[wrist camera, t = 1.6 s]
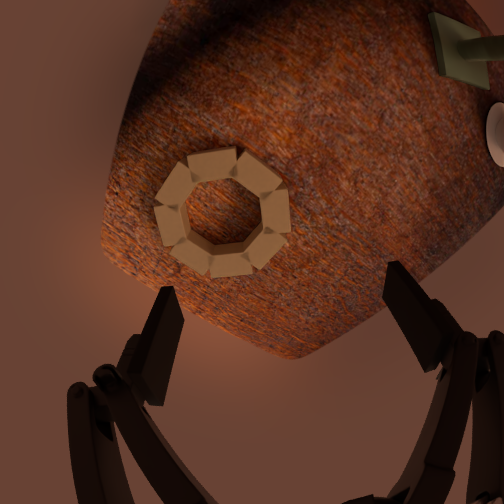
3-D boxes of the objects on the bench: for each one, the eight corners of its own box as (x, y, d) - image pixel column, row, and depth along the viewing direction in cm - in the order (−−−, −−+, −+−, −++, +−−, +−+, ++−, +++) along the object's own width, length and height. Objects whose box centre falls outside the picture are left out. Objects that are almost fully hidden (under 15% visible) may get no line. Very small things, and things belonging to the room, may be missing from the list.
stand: (427, 14, 17) (485, -5, 6) (473, 33, 16) (529, 27, 6) (439, 75, 21) (506, 74, 11) (482, 89, 20) (543, 97, 10)
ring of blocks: (152, 160, 26) (143, 164, 24) (280, 140, 26) (283, 142, 24) (178, 269, 33) (173, 281, 30) (289, 258, 32) (292, 269, 30)
